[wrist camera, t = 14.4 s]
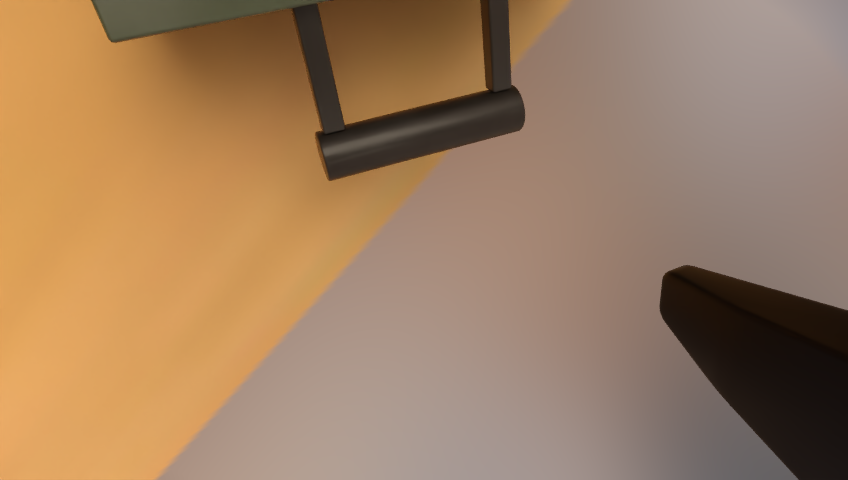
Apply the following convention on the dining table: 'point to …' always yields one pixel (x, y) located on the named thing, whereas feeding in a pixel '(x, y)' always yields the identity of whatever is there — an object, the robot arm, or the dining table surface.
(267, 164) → the dining table surface
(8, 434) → the dining table surface
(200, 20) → the drawer
